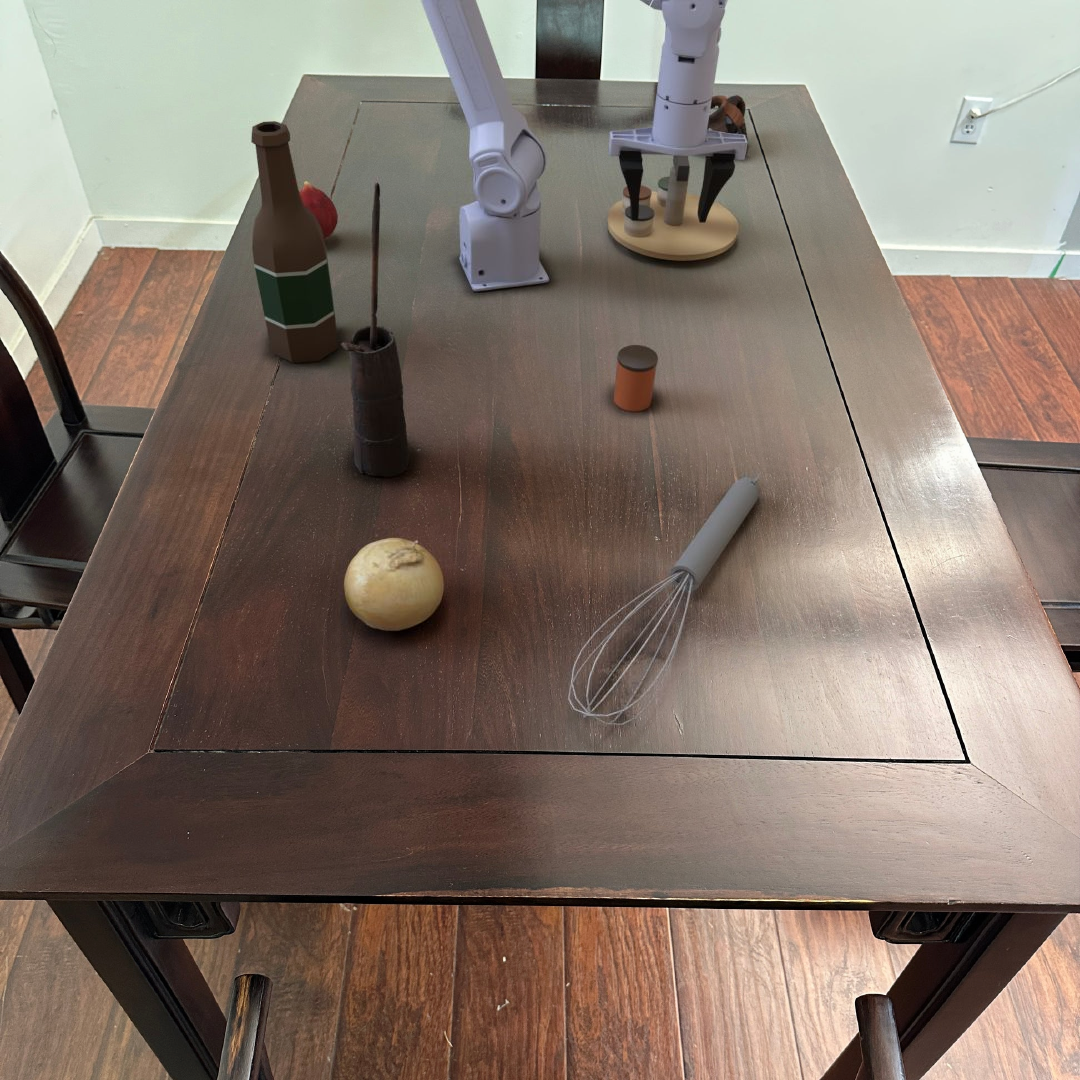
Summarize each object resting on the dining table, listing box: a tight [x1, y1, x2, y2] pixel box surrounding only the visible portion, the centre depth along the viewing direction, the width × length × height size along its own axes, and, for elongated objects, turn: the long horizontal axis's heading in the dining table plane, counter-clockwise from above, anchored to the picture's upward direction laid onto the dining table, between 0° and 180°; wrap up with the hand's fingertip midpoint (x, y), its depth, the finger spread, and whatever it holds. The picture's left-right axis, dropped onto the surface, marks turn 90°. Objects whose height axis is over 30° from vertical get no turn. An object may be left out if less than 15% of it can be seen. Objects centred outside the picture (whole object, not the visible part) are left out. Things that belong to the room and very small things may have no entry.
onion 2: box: [343, 537, 445, 632], centre depth 78 cm, size 8×8×7 cm
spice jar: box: [613, 344, 659, 412], centre depth 100 cm, size 4×4×6 cm
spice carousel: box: [606, 155, 740, 262], centre depth 122 cm, size 17×17×10 cm
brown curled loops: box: [707, 94, 749, 154], centre depth 145 cm, size 12×10×8 cm
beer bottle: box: [251, 120, 339, 364], centre depth 98 cm, size 8×8×24 cm
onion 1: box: [299, 180, 339, 241], centre depth 119 cm, size 6×6×8 cm
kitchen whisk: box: [567, 472, 761, 728], centre depth 80 cm, size 6×34×6 cm, turn 149°
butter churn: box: [340, 182, 410, 478], centre depth 83 cm, size 9×10×28 cm
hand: (667, 217), depth 109 cm, fingers open, 7 cm apart
